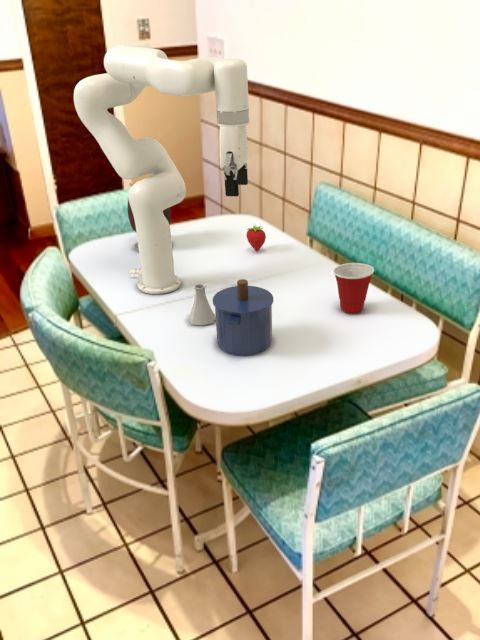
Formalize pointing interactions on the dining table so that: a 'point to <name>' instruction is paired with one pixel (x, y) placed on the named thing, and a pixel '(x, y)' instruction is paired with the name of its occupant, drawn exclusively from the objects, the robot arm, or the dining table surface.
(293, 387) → the dining table surface
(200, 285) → the flask
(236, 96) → the robot arm
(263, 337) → the pot
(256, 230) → the strawberry
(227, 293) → the pot lid
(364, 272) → the plastic cup
